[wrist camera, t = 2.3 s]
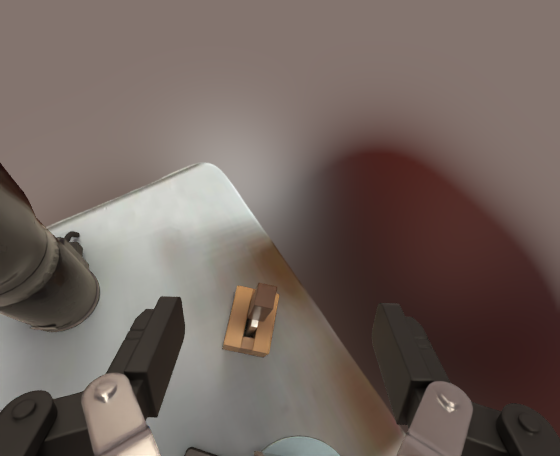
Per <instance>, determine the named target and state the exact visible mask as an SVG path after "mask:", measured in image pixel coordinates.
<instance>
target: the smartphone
mask: <svg viewBox="0 0 560 456" xmlns="http://www.w3.org/2000/svg"><path fill="white" fill-rule="evenodd" d="M184 456H217V455H214V454H211V453H208V452H205V451H202V450H199V449H196V448H193V447H190V448H188V449H187V450H186V453H185V455H184Z"/></svg>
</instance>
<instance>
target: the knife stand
mask: <svg viewBox="0 0 560 456" xmlns="http://www.w3.org/2000/svg"><path fill="white" fill-rule="evenodd" d="M255 290H256V289H251V288H247V287H242V286H237V289H236V293H235V297H234V301H233V306H232V310H231V314H230V318H229V323H228V327H227V331H226V335H225V339H224V344H223V348H222V349H225V350H229V351H234V352H239V353H244V354H249V355H254V356H259V357H265V356H266V355H268V354H269V351H270V345H271V339H272V333H273V328H274V322H275V316H276V310H277V305H278V299H279V294H276V297H275V302H274V308H273V310H272V311H271V313H270V314H269V315H268V316H267V318H266V319H265V320H264V322H262V321H259V322H258V327H257V328H256V330H255V331H254V333H253V335H252V338H249V337H244V336H243V333H244V328H245V324H246V319H247V314H248V310H249V308H250V303H251V299H252V297H253V294H254V292H255Z"/></svg>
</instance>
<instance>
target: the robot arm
mask: <svg viewBox="0 0 560 456" xmlns="http://www.w3.org/2000/svg"><path fill="white" fill-rule="evenodd" d="M79 235H80V234H79V233H77V232H69V233H68V234H67V235H66V236H65V237H64V238H61V237H58V238H56V237H55V236H54V235H53V234H52V233H51V232H50V231H49V230H48V229H47V228H46V227H45V226H44V225H43V224H42V223H41V222H40V221H39V220H38V219H37V218H36V216H35V214H34V212H33V209H32V207H31V204H30V203H29V201H28V199H27V197H26V195H25V194H24V192H23V191H22V190H21V189H20V187H19V186H18V185H17V183H16V182H15V181H14V180H13V179H12V177H11V176H10V175H9V174H8V172H7V171H6V170H5V168H4V167H3V166H2V164H1V163H0V314H2V315H5V316H7V317H10V318H13V319H15V320H18V321H21V322H23V323H26V324H29V325H31V326H33V327H35V328H31V329H34V330H43V331H47V332H59V331H64V330H68V329H71V328H73V327H75V326H77V325H78V324H80V323H81V322H83V321H84V320H85V319H86V318H87V317H88V316H89V315H90V314H91V313H92V312H93V310H94V309H95V307H96V305H97V302H98V299H99V293H100V289H99V283H98V281H97V279H96V277H95V276H94V274H93V273H92V272H91V271H90V270H89V264H88V263H87V262H86V261H85V260H84V259H83V258H82V254H83V248H82V246H81V245H80V244H79V243H78V242H69V241H70V239H71V237H79ZM184 334H185V322H184V315H183V308H182V301H181V298H180V297H163V296H162V297H160V298H159V300H158V302H157V304H156V306H155V308H154V309H146V310H145V311H144V312H142V313H141V314H140V315H139V316H138V317H137V318H136V319H135V321H134V323H133V325H132V326H131V328H130V331H129V332H128V334H127V336H126V337H125V340H124V341H123V343H122V345H121V347H120V348H119V350H118V352H117V354H116V356H115V358H114V360H113V361H112V363H111V365H110V367H109V369H108V371H107V372H106V374H105V375H102V376H100V377H98V378H97V379H95V380H94V381H92V382H91V383H90V384H89V385H88V386H87V387H86V389H85V390H84V391H82V392H79V393H76V394H72V395H68V396H64V397H60V398H57V399H52V396H51V395H50V394H49V393H48V392H46V391H42V390H37V391H31V392H28V393H25V394H23V395H21V396H19V397H17V398H15V399H14V400H12V401H11V402H10V403H9V404H7V405H6V406H5V407H4V408H3V410H2V411H1V412H0V456H161V454H160V452H159V449H158V447H157V445H156V442H155V440H154V437H153V435H152V432H151V430H150V428H149V426H147V424H146V422H145V421H146V418H147V417H157V416H158V413H159V411H160V408H161V405H162V402H163V399H164V396H165V393H166V390H167V387H168V384H169V381H170V378H171V375H172V372H173V369H174V366H175V363H176V360H177V358H178V355H179V352H180V349H181V346H182V343H183V340H184ZM372 343H373V348H374V351H375V354H376V357H377V361H378V364H379V367H380V371H381V374H382V377H383V380H384V384H385V387H386V390H387V393H388V396H389V400H390V403H391V407H392V409H393V413H394V416H395V420H396V423H397V424H400V425H404V424H405V425H408V428H409V430H408V432H407V433H406V435H405V437H404V440H403V442H402V444H401V447H400V449H399V451H398V454H397V456H560V439H559V437H558V435H557V434H556V432H555V431H554V429H553V427H552V426H551V425H550V423H549V422H548V421H547V420H546V419H545V418H544V417H543V416H541V415H540V414H539V413H538V412H536V411H535V410H533V409H531V408H529V407H527V406H524V405H521V404H516V403H514V404H513V403H512V404H508V405H506V406H505V407H504V408H503V410H502V411H498V410H495V409H492V408H488V407H485V406H482V405H479V404H476V403H474V402H472V401H470V399H469V398H468V396H467V395H466V394H465V393H464V392H463V391H462V390H461V389H459V388H458V387H457V386H455V385H453V384H451V383H450V381H449V379H448V377H447V375H446V373H445V371H444V369H443V367H442V365H441V363H440V361H439V359H438V357H437V355H436V353H435V351H434V349H432V345H431V343H430V341H429V340H428V337H427V335H426V333H425V331H424V329H423V327H422V326H421V325H420V324H419V323H418V322H417V321H416V320H415V319H414V318H413V317H405V315H404V313H403V311H402V309H401V307H400V305H399V304H393V303H392V304H391V303H379V305H378V308H377V312H376V316H375V321H374V325H373V330H372Z"/></svg>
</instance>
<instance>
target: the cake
mask: <svg viewBox="0 0 560 456" xmlns="http://www.w3.org/2000/svg"><path fill="white" fill-rule="evenodd" d="M254 456H340V455H339V454H338V453H337V452H336V451H335V450H334V449H333V448H332V447H330V446H329V445H327V444H325V443H324V442H322V441H319V440H317V439H315V438H311V437H306V436H291V437H287V438H283V439H281V440H278V441H276V442H274V443H272V444H271V445H269V446H268V447H266V448H265V449H264V450H263V451H262V452H259V451H254Z"/></svg>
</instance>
